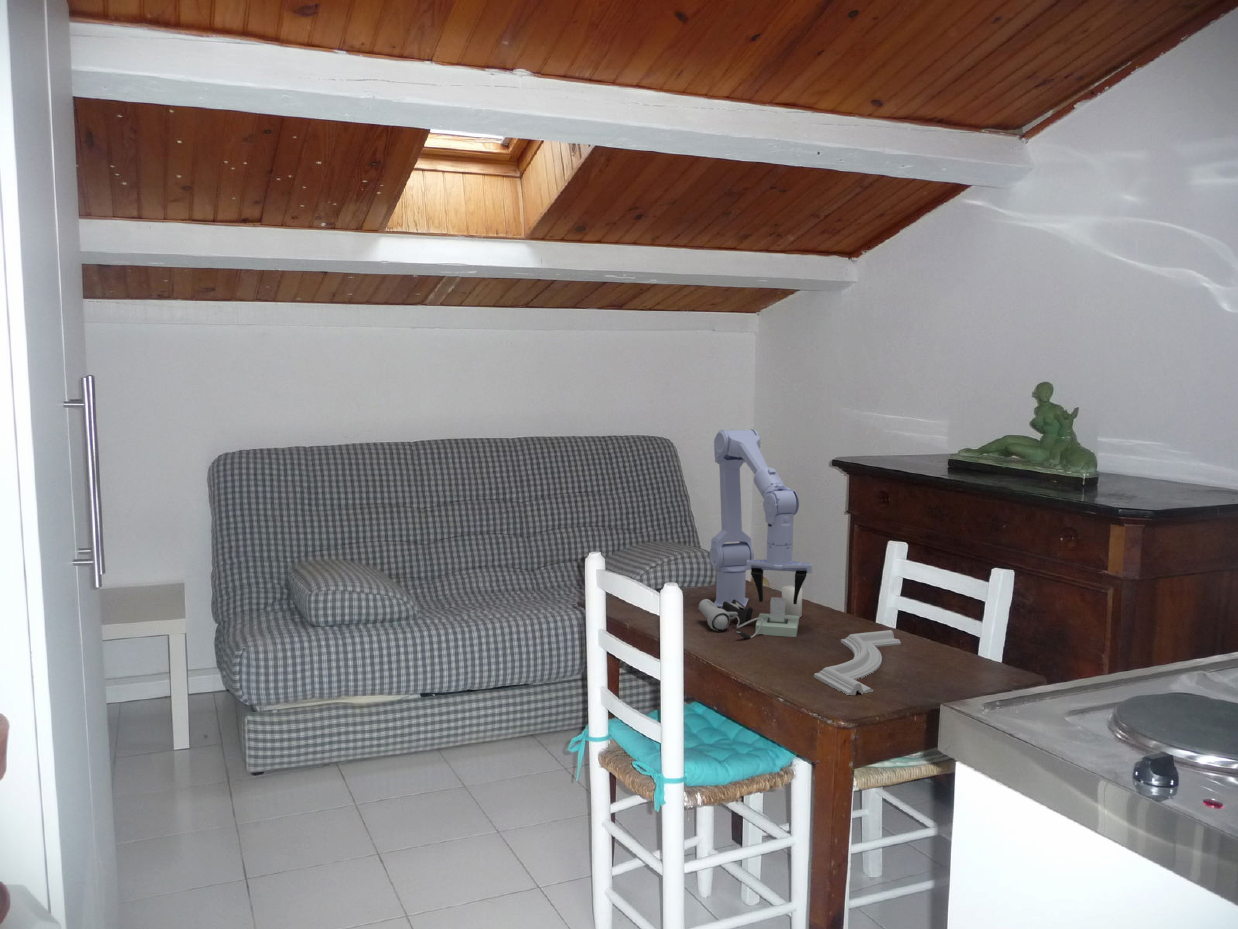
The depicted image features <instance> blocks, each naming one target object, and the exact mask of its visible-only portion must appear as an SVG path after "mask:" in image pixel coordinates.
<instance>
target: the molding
mask: <svg viewBox="0 0 1238 929" xmlns="http://www.w3.org/2000/svg"><path fill="white" fill-rule="evenodd" d="M840 643H841V644H842V643H843V645H844V646H845V647H847V648H849V649H850V650H851V651H852V653H853V659H851V660H849V661H846V662H842V663H840V664H836V665H831V666H830V665H829V666H826V667H824V668H822V670H820V671H819V672H816V673H813V678H815V679H816V680H818V681H820V682H821V683H824V684H826V685H827V684H828V686H829V687H831V688H833V689H834V688H835V689H834V690H836V689H837V691H839V692H840V691H842V692H843V693H845V694H846V695H845V694H844V695H845V696H847V695H854V696H856V695H857V693H859V694H860V693H861V695H864V694H863V693H868V692H873V691H874V692H875V690H874V689H872V688H871V687H869V686H867V685H866V684H863V683H861V682H860V681H858V680H860V679H859V678H861V679H863V678H865V676H866V677H868V676H869V674H870V675H872V674H873V673H875V672H876V671H877V670H879V668H880V667H881V665H882V662H883V655H882V653H881V651H880V650H879V649H878V648H880V647H890V646H899V645H900V646H901V645H902V642H901V641H900V638H899V639H898V638H895V635H894V632H893V630H890V629H889V630H888V629H887V630H881V631H869V632H861V633H852V634H851V633H850V634H849V635H848V636H847V637H845V638H842V639H840ZM874 671H875V672H874ZM871 673H872V674H871ZM867 675H868V676H867ZM857 679H858V680H857ZM842 692H841V693H842ZM843 693H842V694H843Z"/></svg>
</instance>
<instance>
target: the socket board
mask: <svg viewBox="0 0 1238 929" xmlns="http://www.w3.org/2000/svg"><path fill="white" fill-rule="evenodd" d="M759 617H760V618H762V619H763V624H762V626H761V628H760V630H759V631H758V633H757V634H756V635H759V634H763V636H777V637H787V638H788V637H789V638H790V637H791V638H797V635H798V629H799V625H800V624H799V619H800V618H799V616H792V615H785V624H781V623H770V613H761V612H760V613H759V615H758V617H757V618H759ZM761 621H762V620H761V619H758V620H756V623H755V632H754V634H755V633H756V631H757V630H758V628H759V627H760V625H761Z"/></svg>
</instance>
